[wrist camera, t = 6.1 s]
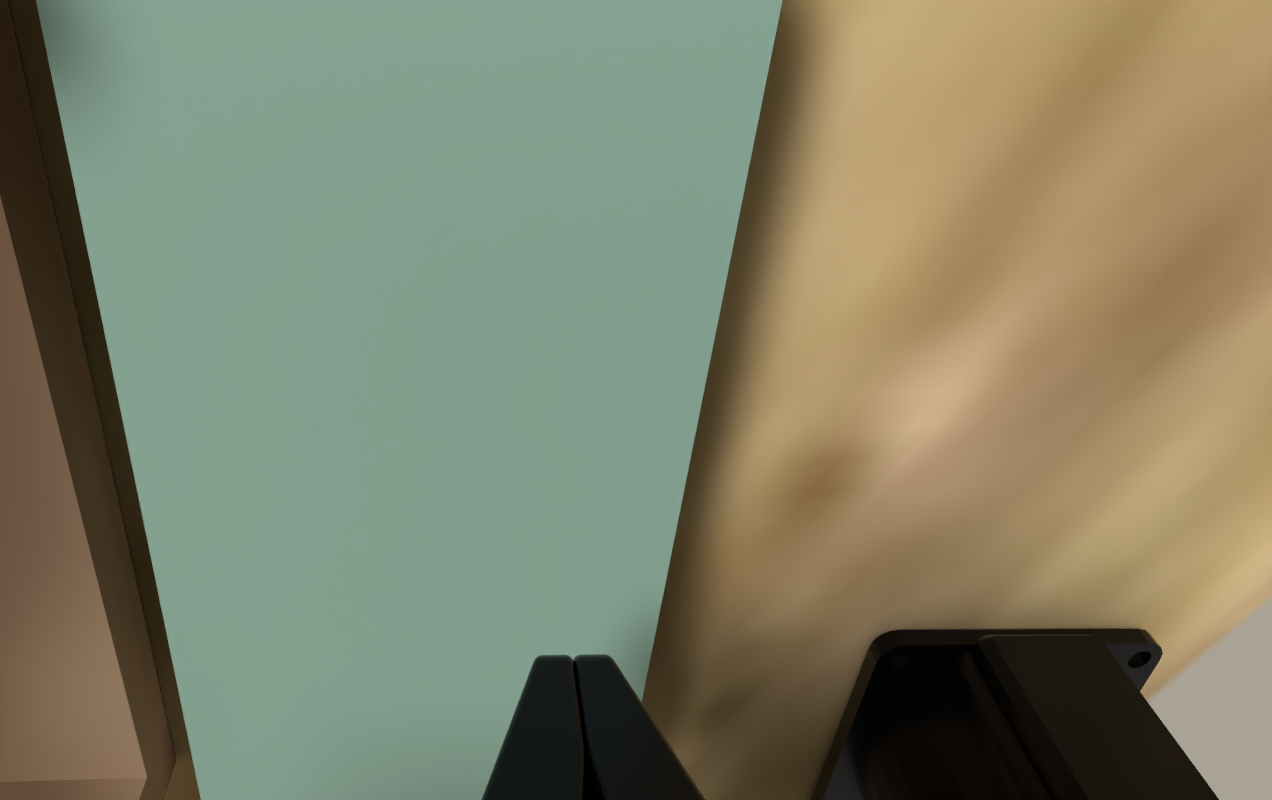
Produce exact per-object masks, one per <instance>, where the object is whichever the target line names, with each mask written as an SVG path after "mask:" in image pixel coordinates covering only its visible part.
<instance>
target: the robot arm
mask: <svg viewBox="0 0 1272 800" xmlns="http://www.w3.org/2000/svg"><path fill="white" fill-rule="evenodd" d="M1161 656H1162V649H1161V647H1160V646H1159V644H1158V643H1157V642H1156V641H1155V639H1154V638H1153V637H1152V636H1151V634H1150V633H1148V632H1147V631H1146V630H1141V629H1025V630H896V631H890V632H887V633H885V634H883V635H881V636H879V637H878V638H877V639H876V640H874V641H873V643H872V645H871V646H870V648H869V650H868V653H867V656H866V658H865V661H864V663H863V666H862V669H861V671H860V674H859V676H858V679H857V682H856V684H855V687H854V690H853V692H852V695H851V697H850V700H849V703H848V705H847V708H846V710H845V713H844V716H843V718H842V721H841V723H840V726H839V729H838V731H837V734H836V736H835V739H834V742H833V744H832V747H831V749H830V752H829V755H828V757H827V760H826V763H825V765H824V768H823V770H822V773H821V776H820V778H819V781H818V783H817V786H816V789H815V791H814V794H813V796H812V799H811V800H1219V799H1218V798H1217V797H1216V795H1215V793H1214V792H1213V791H1212V789H1211V788H1210V787H1209V785H1208V784H1207V783H1206V781H1205V780H1204V778H1203V777H1202V776H1201V774H1200V773H1199V772H1198V770H1197V769H1196V768H1195V766H1194V765H1193V764H1192V762H1191V761H1190V759H1189V758H1188V757H1187V755H1186V754H1185V753H1184V751H1183V750H1182V749H1181V747H1180V746H1179V744H1178V743H1177V742H1176V740H1175V739H1174V738H1173V736H1172V735H1171V734H1170V732H1169V731H1168V730H1167V728H1166V727H1165V725H1164V724H1163V723H1162V721H1161V720H1160V719H1159V717H1158V716H1157V714H1156V713H1155V712H1154V710H1153V709H1152V708H1151V706H1150V705H1149V704H1148V702H1147V701H1146V700H1145V698H1144V697H1143V695H1142V694H1141V693H1140V690H1141V689H1142V687H1143V686H1144V684H1145V683H1146V681H1147V679H1148V678H1149V676H1150V675H1151V673H1152V671H1153V670H1154V668H1155V667H1156V665H1157V664H1158V662H1159V660H1160V658H1161ZM481 800H705V799H704V797H703V796H702V794H701V793H700V791H699V790H698V788H697V787H696V785H695V783H694V782H693V780H692V779H691V777H690V776H689V774H688V773H687V771H686V770H685V768H684V767H683V765H682V764H681V762H680V760H679V759H678V757H677V756H676V754H675V753H674V751H673V750H672V748H671V747H670V745H669V744H668V742H667V741H666V739H665V737H664V736H663V734H662V733H661V731H660V730H659V728H658V727H657V725H656V724H655V722H654V721H653V719H652V718H651V716H650V714H649V713H648V711H647V710H646V708H645V707H644V705H643V704H642V702H641V701H640V699H639V698H638V696H637V695H636V693H635V691H634V690H633V688H632V687H631V685H630V684H629V682H628V681H627V679H626V678H625V676H624V675H623V673H622V672H621V670H620V668H619V667H618V665H617V664H616V662H615V661H614V660H613V658H612V657H610V656H609V655H605V654H584V655H577V656H576V657H575V658H574V659H572V658H571V657H570V656H569V655H539V656H538V657H536V658H535V660H534V662H533V664H532V667H531V670H530V672H529V675H528V678H527V680H526V683H525V685H524V688H523V691H522V693H521V696H520V699H519V701H518V704H517V707H516V709H515V712H514V715H513V717H512V720H511V723H510V725H509V728H508V731H507V733H506V736H505V739H504V741H503V744H502V746H501V749H500V752H499V754H498V757H497V760H496V762H495V765H494V768H493V770H492V773H491V776H490V778H489V781H488V784H487V786H486V789H485V792H484V794H483V797H482V799H481Z"/></svg>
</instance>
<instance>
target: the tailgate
mask: <svg viewBox="0 0 1272 800" xmlns="http://www.w3.org/2000/svg"><path fill="white" fill-rule="evenodd" d="M782 1H783V0H36V3H37V8H38V12H39V17H40V22H41V27H42V32H43V37H44V42H45V46H46V51H47V56H48V61H49V66H50V71H51V76H52V80H53V85H54V90H55V95H56V100H57V105H58V110H59V114H60V119H61V124H62V129H63V134H64V139H65V143H66V148H67V153H68V158H69V163H70V168H71V173H72V177H73V182H74V187H75V192H76V197H77V202H78V207H79V211H80V216H81V221H82V226H83V231H84V236H85V240H86V245H87V250H88V255H89V260H90V265H91V270H92V274H93V279H94V284H95V289H96V294H97V299H98V304H99V308H100V313H101V318H102V323H103V328H104V333H105V337H106V342H107V347H108V352H109V357H110V362H111V367H112V371H113V376H114V381H115V386H116V391H117V396H118V401H119V405H120V410H121V415H122V420H123V425H124V430H125V434H126V439H127V444H128V449H129V454H130V459H131V464H132V468H133V473H134V478H135V483H136V488H137V493H138V498H139V502H140V507H141V512H142V517H143V522H144V527H145V532H146V536H147V541H148V546H149V551H150V556H151V561H152V565H153V570H154V575H155V580H156V585H157V590H158V595H159V599H160V604H161V609H162V614H163V619H164V624H165V629H166V633H167V638H168V643H169V648H170V653H171V658H172V662H173V667H174V672H175V677H176V682H177V687H178V692H179V696H180V701H181V706H182V711H183V716H184V721H185V726H186V730H187V735H188V740H189V745H190V750H191V755H192V759H193V764H194V769H195V774H196V779H197V784H198V789H199V793H200V798H201V800H481V799H482V797H483V794H484V792H485V789H486V786H487V784H488V781H489V778H490V776H491V773H492V770H493V768H494V765H495V762H496V760H497V757H498V754H499V752H500V749H501V746H502V744H503V741H504V739H505V736H506V733H507V731H508V728H509V725H510V723H511V720H512V717H513V715H514V712H515V709H516V707H517V704H518V701H519V699H520V696H521V693H522V691H523V688H524V685H525V683H526V680H527V678H528V675H529V672H530V670H531V667H532V664H533V662H534V660H535V658H536V657H538V656H539V655H569V656H570V657H571V658H572V659H574V658H575V657H576V656H577V655H584V654H605V655H609V656H610V657H612V658H613V660H614V661H615V662H616V664H617V665H618V667H619V668H620V670H621V672H622V673H623V675H624V676H625V678H626V679H627V681H628V682H629V684H630V685H631V687H632V688H633V690H634V691H635V693H636V695H637V696H638V698H639V699H640V701H641V702H642V698H643V693H644V688H645V683H646V678H647V673H648V668H649V663H650V658H651V653H652V648H653V643H654V638H655V633H656V628H657V623H658V618H659V613H660V608H661V603H662V598H663V594H664V589H665V584H666V579H667V574H668V569H669V564H670V559H671V554H672V549H673V544H674V539H675V534H676V529H677V524H678V519H679V514H680V509H681V504H682V499H683V494H684V489H685V484H686V479H687V474H688V469H689V464H690V459H691V454H692V449H693V444H694V439H695V434H696V429H697V424H698V419H699V414H700V409H701V404H702V399H703V394H704V389H705V384H706V379H707V374H708V369H709V364H710V359H711V354H712V349H713V345H714V340H715V335H716V330H717V325H718V320H719V315H720V310H721V305H722V300H723V295H724V290H725V285H726V280H727V275H728V270H729V265H730V260H731V255H732V250H733V245H734V240H735V235H736V230H737V225H738V220H739V215H740V210H741V205H742V200H743V195H744V190H745V185H746V180H747V175H748V170H749V165H750V160H751V155H752V150H753V145H754V140H755V135H756V130H757V125H758V120H759V115H760V110H761V105H762V101H763V96H764V91H765V86H766V81H767V76H768V71H769V66H770V61H771V56H772V51H773V46H774V41H775V36H776V31H777V26H778V21H779V16H780V11H781V6H782Z"/></svg>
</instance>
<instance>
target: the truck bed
mask: <svg viewBox="0 0 1272 800" xmlns="http://www.w3.org/2000/svg"><path fill="white" fill-rule="evenodd" d="M175 763H176V758H175V753H174V749H173V744H172V740H171V735H170V731H169V726H168V722H167V717H166V713H165V708H164V704H163V699H162V695H161V690H160V686H159V681H158V677H157V672H156V668H155V663H154V659H153V654H152V650H151V645H150V641H149V636H148V632H147V627H146V623H145V618H144V614H143V609H142V605H141V600H140V596H139V591H138V587H137V582H136V578H135V573H134V569H133V564H132V559H131V555H130V550H129V546H128V541H127V537H126V532H125V528H124V523H123V519H122V514H121V510H120V505H119V501H118V496H117V492H116V487H115V483H114V478H113V474H112V469H111V465H110V460H109V456H108V451H107V447H106V442H105V438H104V433H103V429H102V424H101V420H100V415H99V411H98V406H97V402H96V397H95V393H94V388H93V384H92V379H91V375H90V370H89V366H88V361H87V356H86V352H85V347H84V343H83V338H82V334H81V329H80V325H79V320H78V316H77V311H76V307H75V302H74V298H73V293H72V289H71V284H70V280H69V275H68V271H67V266H66V262H65V257H64V253H63V248H62V244H61V239H60V235H59V230H58V226H57V221H56V217H55V212H54V208H53V203H52V199H51V194H50V190H49V185H48V181H47V176H46V172H45V167H44V162H43V158H42V153H41V149H40V144H39V140H38V135H37V131H36V126H35V122H34V117H33V113H32V108H31V104H30V99H29V95H28V90H27V86H26V81H25V77H24V72H23V68H22V63H21V59H20V54H19V50H18V45H17V41H16V36H15V32H14V27H13V23H12V18H11V14H10V9H9V5H8V0H0V800H163V798H164V796H165V793H166V790H167V787H168V784H169V781H170V778H171V775H172V772H173V769H174V766H175Z"/></svg>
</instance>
